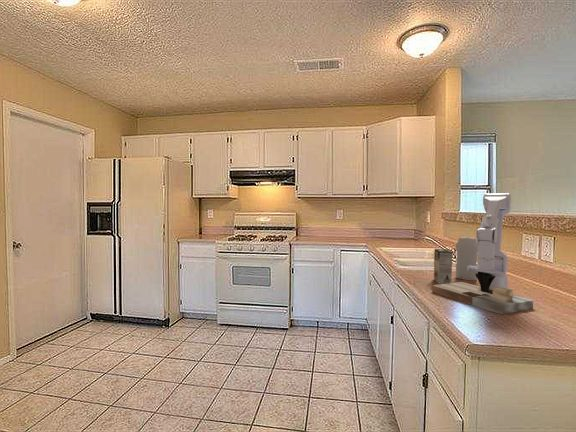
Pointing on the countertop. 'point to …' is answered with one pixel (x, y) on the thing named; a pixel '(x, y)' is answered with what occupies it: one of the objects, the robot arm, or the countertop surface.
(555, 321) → the countertop surface
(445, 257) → the coffee box
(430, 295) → the countertop surface
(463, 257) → the grey upright slab
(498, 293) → the block
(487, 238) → the robot arm
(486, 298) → the trap board
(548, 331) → the countertop surface
